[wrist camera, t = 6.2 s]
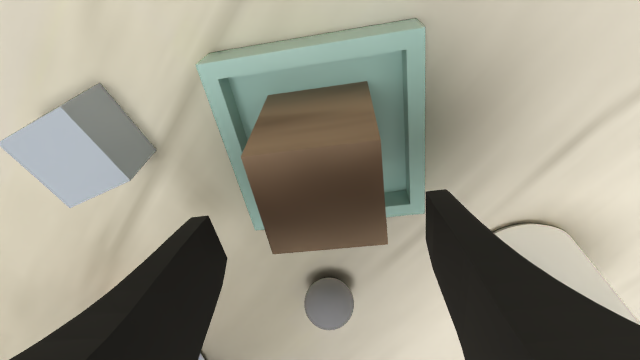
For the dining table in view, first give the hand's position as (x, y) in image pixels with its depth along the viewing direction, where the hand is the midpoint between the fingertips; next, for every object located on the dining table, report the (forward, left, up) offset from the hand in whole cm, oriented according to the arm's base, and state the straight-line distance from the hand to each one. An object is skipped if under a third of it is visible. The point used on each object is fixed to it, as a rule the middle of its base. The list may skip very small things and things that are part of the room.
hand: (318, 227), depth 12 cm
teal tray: (0, 0, -7) cm, 7 cm away
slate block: (+2, +11, -7) cm, 14 cm away
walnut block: (0, 0, -6) cm, 6 cm away
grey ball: (-11, +1, -6) cm, 13 cm away
